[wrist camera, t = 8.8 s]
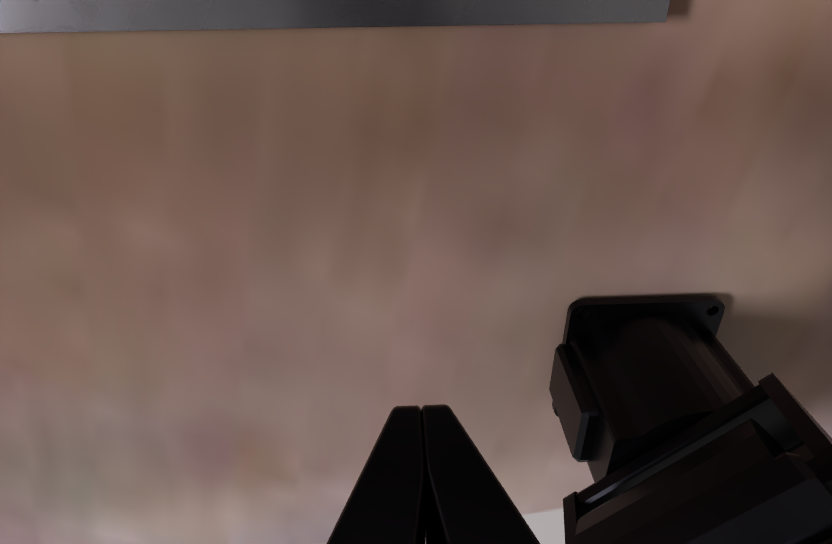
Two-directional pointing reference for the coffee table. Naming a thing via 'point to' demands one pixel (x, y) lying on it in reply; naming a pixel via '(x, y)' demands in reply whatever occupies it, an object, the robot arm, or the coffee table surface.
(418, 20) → the pipe stand
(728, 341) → the coffee table surface
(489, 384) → the coffee table surface
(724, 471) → the robot arm
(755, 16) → the coffee table surface
